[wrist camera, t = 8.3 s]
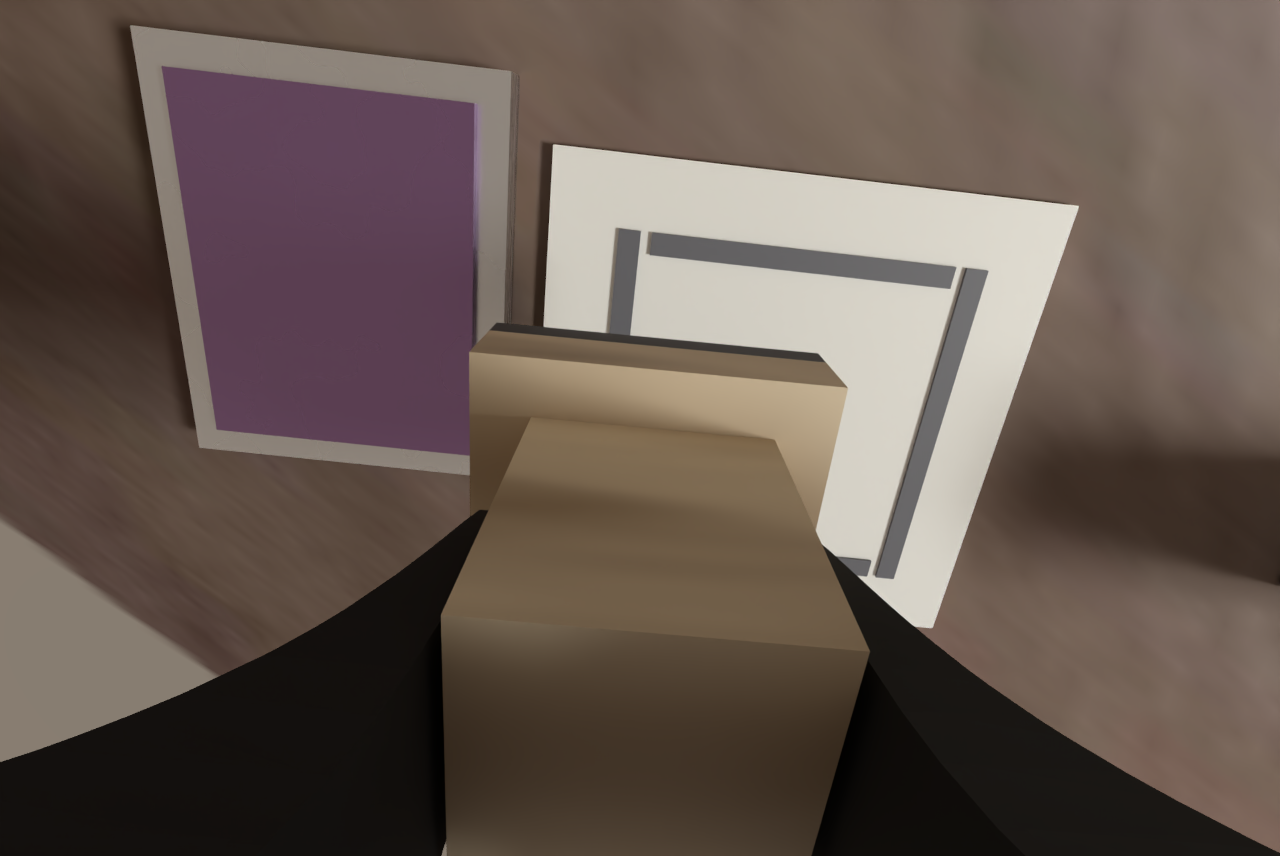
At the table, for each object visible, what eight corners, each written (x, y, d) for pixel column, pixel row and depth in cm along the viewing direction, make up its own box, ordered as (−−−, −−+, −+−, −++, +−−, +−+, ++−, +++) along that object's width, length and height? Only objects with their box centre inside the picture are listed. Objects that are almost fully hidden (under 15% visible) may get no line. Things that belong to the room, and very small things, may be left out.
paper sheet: (928, 622, 23) (933, 630, 23) (531, 583, 23) (528, 590, 22) (1072, 205, 18) (1081, 206, 17) (554, 144, 17) (552, 144, 17)
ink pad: (505, 463, 21) (497, 482, 20) (219, 434, 21) (192, 451, 19) (518, 75, 17) (509, 69, 15) (159, 32, 16) (120, 22, 15)
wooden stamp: (764, 613, 15) (858, 980, 8) (493, 590, 14) (365, 945, 8) (818, 353, 12) (1007, 570, 6) (496, 322, 12) (322, 510, 6)
